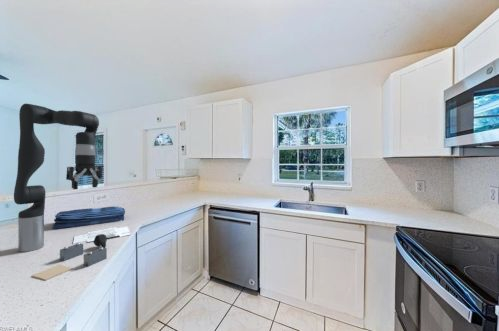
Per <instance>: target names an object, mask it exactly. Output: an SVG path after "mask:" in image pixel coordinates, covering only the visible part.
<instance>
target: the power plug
mask: <svg viewBox="0 0 499 331" xmlns="http://www.w3.org/2000/svg"><path fill="white" fill-rule="evenodd" d="M107 241H108V238H107V237H106V235H104V234H100V235H97V236H96V237H95V239H94V241H93V245H94V246H96V247H103V248H106V247H107Z"/></svg>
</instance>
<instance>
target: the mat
mask: <svg viewBox="0 0 499 331" xmlns="http://www.w3.org/2000/svg"><path fill="white" fill-rule="evenodd" d="M72 270H74V268H73V267H70V266H67V265H62V264H57V265H55V266H51V267H49V268H47V269H44V270H41V271H39V272H36V273H34V274H32V275H31V277H32V278H36V279H39V280H43V281H48V280H51V279H53V278H55V277H58V276H61V275H62V274H64V273H65V274H66V273H67V272H70V271H72Z"/></svg>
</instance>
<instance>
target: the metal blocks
mask: <svg viewBox="0 0 499 331" xmlns="http://www.w3.org/2000/svg"><path fill="white" fill-rule="evenodd" d="M107 249H108V248H106V247H105V248H103V247H102V246H100V247H98V249H95V250H92V251H88V252H86V253H84V243H81V242H80V243H76V244H73V245H69V246H64V247H63V248H60V250H59V261H61V262H66V261H68V260H72V259H74V258H78V257H79V256H82V255H83V266H84V267H90V266H94V265H95V264H98V263H100V262H103V261H105V260H107V259H108V258H107V256H108V255H107V252H108V251H107Z"/></svg>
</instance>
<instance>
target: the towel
mask: <svg viewBox="0 0 499 331" xmlns="http://www.w3.org/2000/svg"><path fill="white" fill-rule="evenodd" d="M125 215H126V209H125V208H124V207H119V206H105V207H98V208H81V209H80V208H79V209H72V210H63V211H59V212H58V213H56V214H55V217H54V219H53V222H54V223H53V225H52V230H59V229H67V228H75V227H77V228H78V227H85V226H91V225H98V224H107V223H115V221H116V222H121V221H120V220H122V221H124V220H125Z"/></svg>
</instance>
